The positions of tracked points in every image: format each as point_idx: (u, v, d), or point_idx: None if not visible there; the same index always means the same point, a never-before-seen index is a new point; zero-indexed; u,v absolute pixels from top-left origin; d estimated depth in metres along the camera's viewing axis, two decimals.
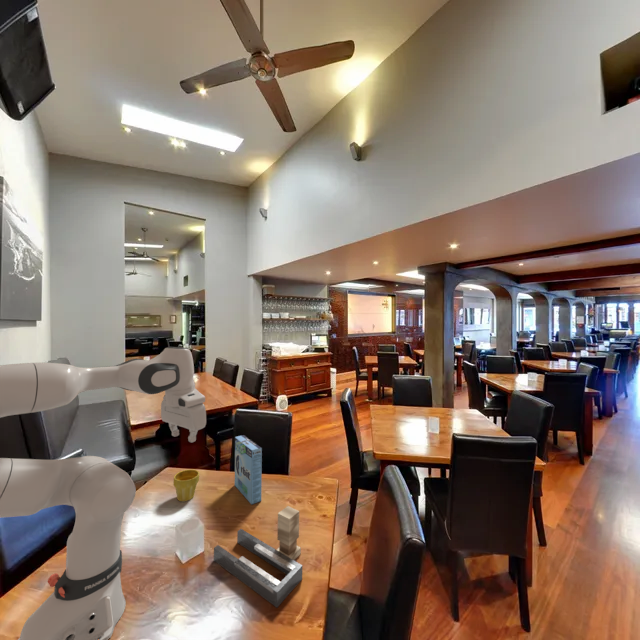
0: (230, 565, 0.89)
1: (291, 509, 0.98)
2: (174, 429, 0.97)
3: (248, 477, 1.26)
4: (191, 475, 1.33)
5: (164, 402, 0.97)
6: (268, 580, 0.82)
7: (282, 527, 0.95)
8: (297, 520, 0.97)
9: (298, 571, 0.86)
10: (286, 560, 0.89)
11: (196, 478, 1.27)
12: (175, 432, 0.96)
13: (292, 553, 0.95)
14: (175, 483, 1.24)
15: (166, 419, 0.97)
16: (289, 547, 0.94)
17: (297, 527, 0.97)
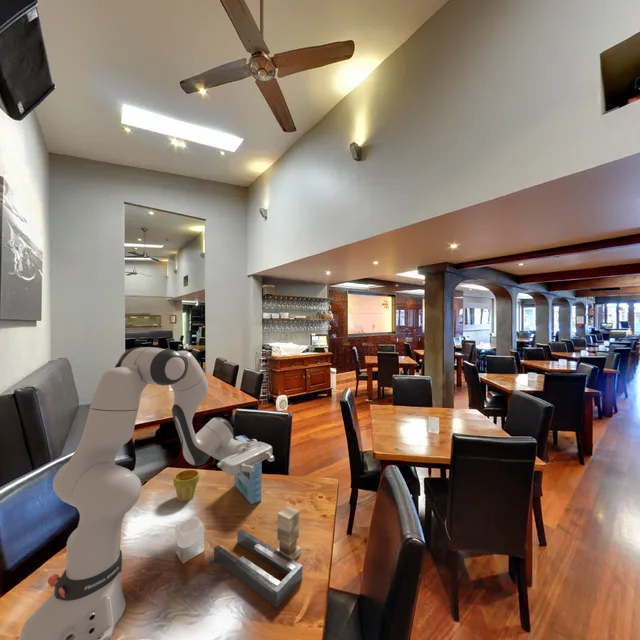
0: (230, 565, 0.89)
1: (291, 509, 0.98)
2: None
3: (248, 477, 1.26)
4: (191, 475, 1.33)
5: (226, 457, 1.05)
6: (268, 580, 0.82)
7: (282, 527, 0.95)
8: (297, 520, 0.97)
9: (298, 571, 0.86)
10: (286, 560, 0.89)
11: (196, 478, 1.27)
12: None
13: (292, 553, 0.95)
14: (175, 483, 1.24)
15: (237, 461, 1.02)
16: (289, 547, 0.94)
17: (297, 527, 0.97)
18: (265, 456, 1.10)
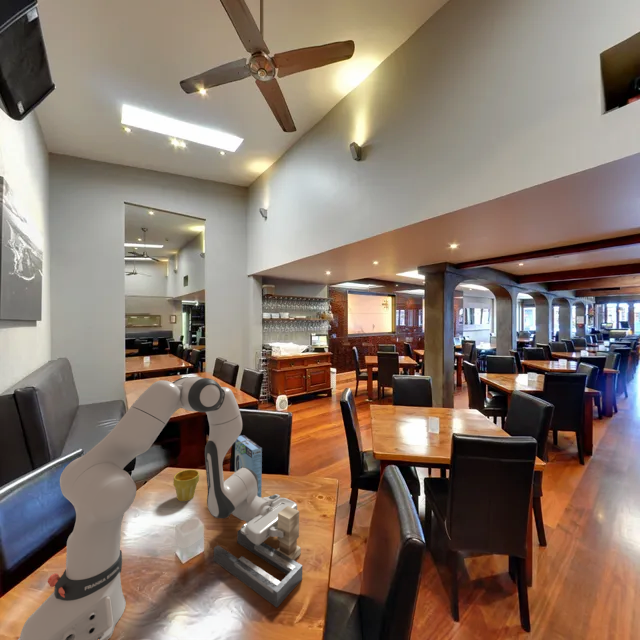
0: (230, 565, 0.89)
1: (291, 509, 0.98)
2: None
3: None
4: (191, 475, 1.33)
5: (250, 521, 0.97)
6: (268, 580, 0.82)
7: (282, 527, 0.95)
8: (297, 520, 0.97)
9: (298, 571, 0.86)
10: (286, 560, 0.89)
11: (196, 478, 1.27)
12: None
13: (292, 553, 0.95)
14: (175, 483, 1.24)
15: (263, 527, 0.94)
16: (289, 547, 0.94)
17: (297, 527, 0.97)
18: None
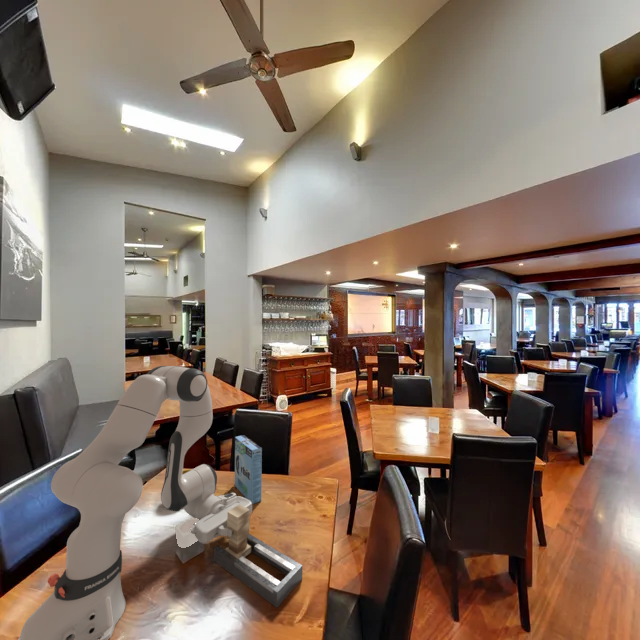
0: (230, 565, 0.89)
1: (242, 507, 0.98)
2: None
3: (248, 477, 1.26)
4: None
5: (200, 520, 0.96)
6: (268, 580, 0.82)
7: (231, 525, 0.94)
8: (247, 518, 0.96)
9: (298, 571, 0.86)
10: (286, 560, 0.89)
11: None
12: None
13: (241, 552, 0.94)
14: None
15: (212, 525, 0.93)
16: (238, 546, 0.93)
17: (247, 525, 0.96)
18: None
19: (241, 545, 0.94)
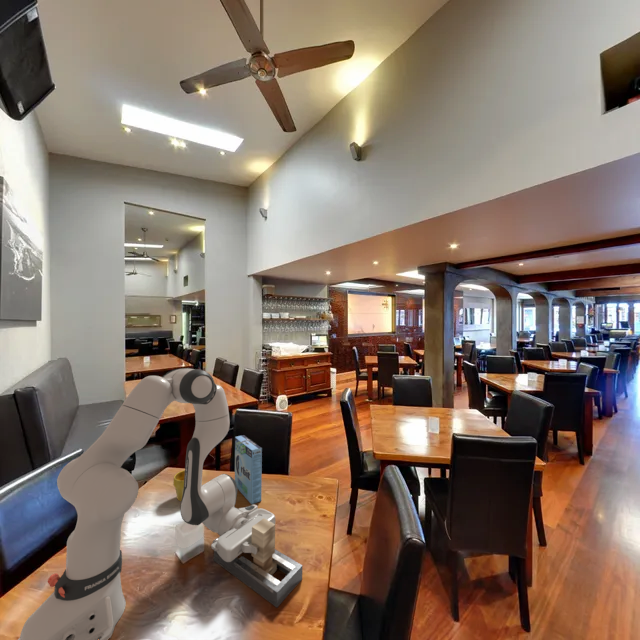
0: (230, 565, 0.89)
1: (267, 522, 0.91)
2: None
3: (248, 477, 1.26)
4: None
5: (222, 536, 0.89)
6: (268, 580, 0.82)
7: (256, 542, 0.87)
8: (273, 534, 0.89)
9: (298, 571, 0.86)
10: (286, 560, 0.89)
11: None
12: None
13: (267, 570, 0.87)
14: (175, 483, 1.24)
15: (235, 542, 0.87)
16: (263, 564, 0.87)
17: (273, 542, 0.89)
18: None
19: (267, 563, 0.88)
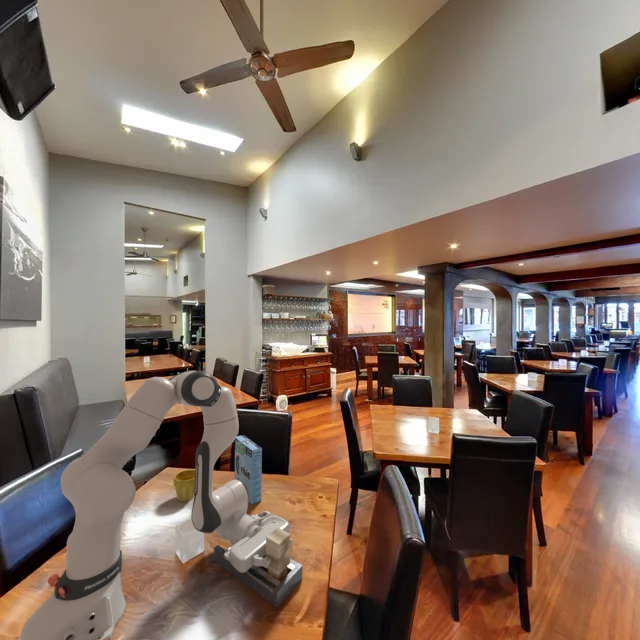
0: (230, 565, 0.89)
1: (281, 531, 0.87)
2: None
3: (248, 477, 1.26)
4: (191, 475, 1.33)
5: (235, 545, 0.86)
6: (268, 580, 0.82)
7: (271, 553, 0.84)
8: (288, 544, 0.86)
9: (298, 571, 0.86)
10: None
11: None
12: None
13: None
14: (175, 483, 1.24)
15: (249, 551, 0.83)
16: (278, 576, 0.83)
17: (288, 552, 0.86)
18: None
19: (282, 575, 0.84)
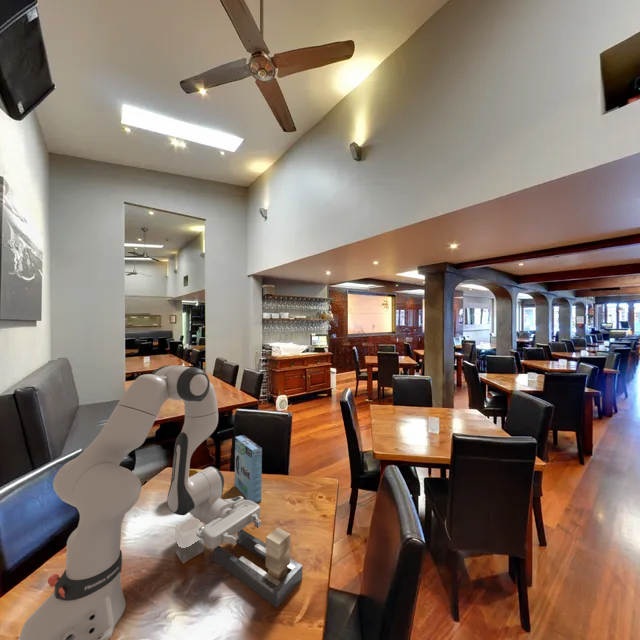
0: (230, 565, 0.89)
1: (281, 531, 0.87)
2: None
3: (248, 477, 1.26)
4: (191, 475, 1.33)
5: (207, 524, 0.93)
6: (268, 580, 0.82)
7: (271, 553, 0.84)
8: (288, 544, 0.86)
9: (298, 571, 0.86)
10: None
11: None
12: None
13: None
14: None
15: (220, 530, 0.91)
16: (278, 576, 0.83)
17: (288, 552, 0.86)
18: (252, 519, 0.99)
19: (282, 575, 0.84)
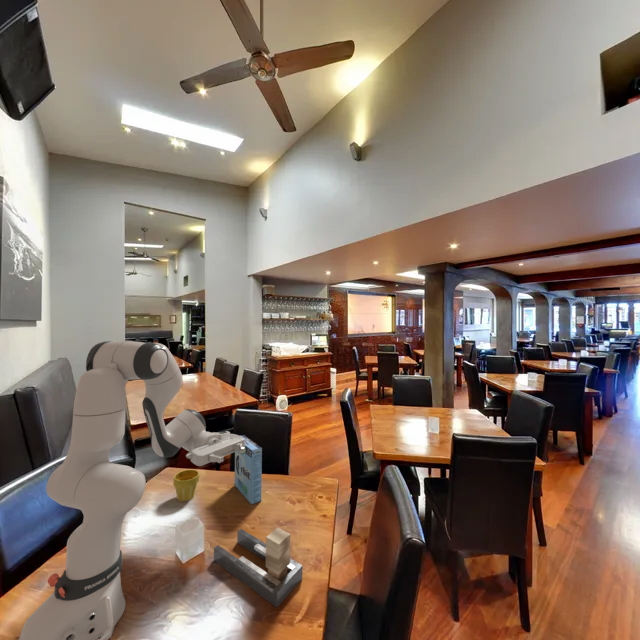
0: (230, 565, 0.89)
1: (281, 531, 0.87)
2: None
3: (248, 477, 1.26)
4: (191, 475, 1.33)
5: (195, 448, 1.03)
6: (268, 580, 0.82)
7: (271, 553, 0.84)
8: (288, 544, 0.86)
9: (298, 571, 0.86)
10: None
11: (196, 478, 1.27)
12: None
13: None
14: (175, 483, 1.24)
15: (206, 451, 1.01)
16: (278, 576, 0.83)
17: (288, 552, 0.86)
18: (236, 448, 1.09)
19: (282, 575, 0.84)
